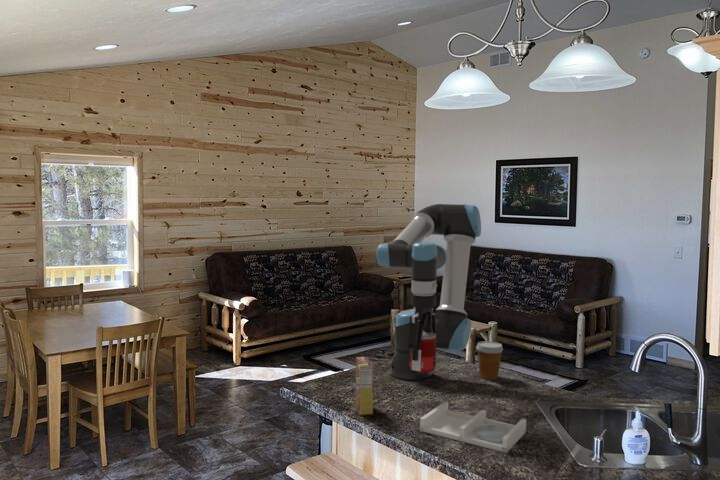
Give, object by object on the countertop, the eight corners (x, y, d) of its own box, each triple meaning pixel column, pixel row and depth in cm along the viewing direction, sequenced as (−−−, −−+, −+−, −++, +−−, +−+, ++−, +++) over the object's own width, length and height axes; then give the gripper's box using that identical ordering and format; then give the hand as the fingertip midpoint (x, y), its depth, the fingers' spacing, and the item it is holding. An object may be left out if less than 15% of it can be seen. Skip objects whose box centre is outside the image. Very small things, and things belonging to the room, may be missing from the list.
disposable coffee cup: (470, 377, 218) (471, 345, 217) (481, 371, 226) (482, 339, 225) (496, 382, 213) (497, 349, 212) (506, 376, 221) (507, 343, 220)
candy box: (354, 404, 190) (355, 356, 189) (368, 404, 190) (369, 356, 189) (358, 415, 181) (359, 365, 180) (373, 414, 182) (373, 364, 180)
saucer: (483, 427, 171) (483, 422, 171) (514, 434, 166) (515, 430, 166) (471, 437, 163) (471, 433, 163) (503, 446, 158) (503, 441, 158)
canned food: (439, 371, 184) (440, 336, 183) (415, 374, 182) (415, 338, 181) (429, 364, 192) (430, 330, 190) (405, 366, 189) (406, 331, 188)
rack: (444, 416, 181) (444, 401, 181) (525, 435, 168) (526, 419, 168) (419, 434, 168) (420, 418, 167) (506, 456, 155) (507, 439, 154)
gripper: (419, 300, 174) (418, 378, 176) (449, 289, 191) (447, 360, 193) (396, 297, 178) (395, 373, 180) (427, 287, 195) (426, 356, 197)
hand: (422, 366), depth 187 cm, fingers closed on canned food, 8 cm apart
